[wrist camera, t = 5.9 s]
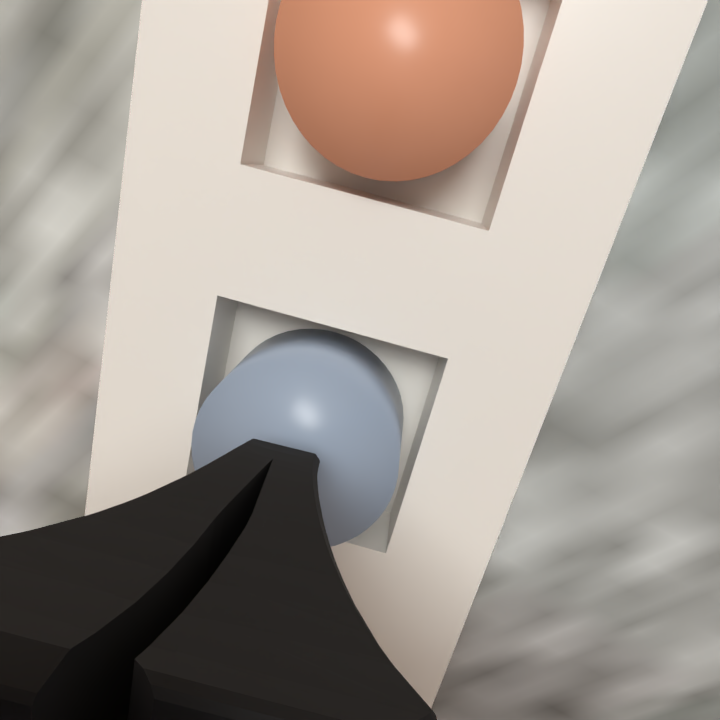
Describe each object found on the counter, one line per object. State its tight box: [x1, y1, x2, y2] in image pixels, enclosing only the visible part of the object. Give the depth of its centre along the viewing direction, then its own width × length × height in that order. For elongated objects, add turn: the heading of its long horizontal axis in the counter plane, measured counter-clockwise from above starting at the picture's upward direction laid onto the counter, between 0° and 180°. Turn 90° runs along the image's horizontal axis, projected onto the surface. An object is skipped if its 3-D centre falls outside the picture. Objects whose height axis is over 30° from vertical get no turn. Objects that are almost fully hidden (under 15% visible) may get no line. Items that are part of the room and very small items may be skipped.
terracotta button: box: [274, 0, 524, 182], centre depth 12 cm, size 4×4×2 cm
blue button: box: [191, 329, 404, 547], centre depth 13 cm, size 4×4×2 cm
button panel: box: [85, 0, 708, 708], centre depth 15 cm, size 10×24×3 cm, turn 166°
